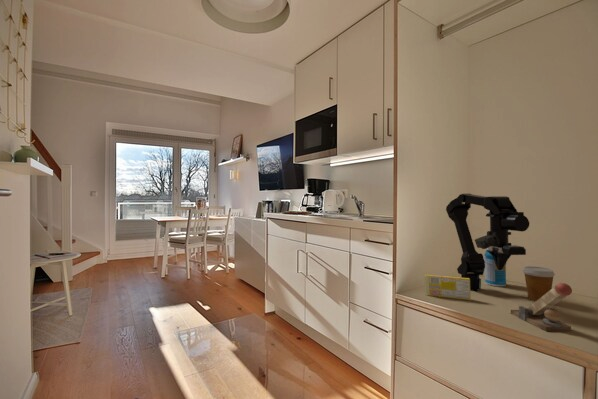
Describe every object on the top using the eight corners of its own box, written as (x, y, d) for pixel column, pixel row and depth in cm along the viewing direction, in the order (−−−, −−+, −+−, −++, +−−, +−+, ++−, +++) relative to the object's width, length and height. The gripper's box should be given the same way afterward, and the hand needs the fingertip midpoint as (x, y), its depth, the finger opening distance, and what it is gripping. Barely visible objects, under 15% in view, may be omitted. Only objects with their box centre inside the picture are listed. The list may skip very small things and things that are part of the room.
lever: (522, 307, 95) (555, 280, 83) (535, 307, 95) (570, 280, 83) (528, 318, 92) (564, 292, 80) (542, 318, 92) (579, 292, 80)
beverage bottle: (482, 284, 132) (481, 240, 132) (487, 280, 138) (486, 239, 138) (504, 288, 126) (503, 242, 126) (508, 284, 132) (508, 240, 132)
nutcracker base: (510, 313, 98) (509, 296, 98) (533, 313, 98) (532, 296, 98) (545, 331, 84) (545, 312, 84) (572, 330, 84) (572, 311, 84)
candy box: (470, 299, 113) (469, 278, 113) (470, 300, 111) (470, 279, 111) (425, 293, 120) (424, 274, 120) (425, 295, 118) (424, 275, 118)
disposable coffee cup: (561, 305, 105) (561, 272, 105) (532, 303, 107) (531, 271, 107) (545, 296, 114) (544, 266, 114) (518, 295, 116) (517, 265, 116)
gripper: (463, 227, 119) (464, 264, 119) (495, 231, 100) (496, 276, 100) (490, 226, 119) (490, 264, 119) (526, 231, 101) (527, 275, 101)
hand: (499, 269), depth 110 cm, fingers closed
